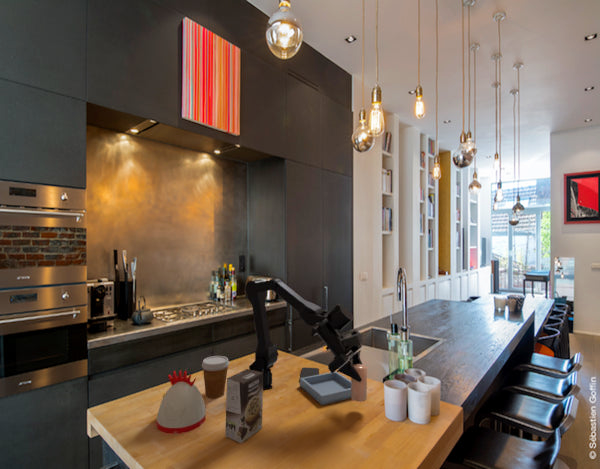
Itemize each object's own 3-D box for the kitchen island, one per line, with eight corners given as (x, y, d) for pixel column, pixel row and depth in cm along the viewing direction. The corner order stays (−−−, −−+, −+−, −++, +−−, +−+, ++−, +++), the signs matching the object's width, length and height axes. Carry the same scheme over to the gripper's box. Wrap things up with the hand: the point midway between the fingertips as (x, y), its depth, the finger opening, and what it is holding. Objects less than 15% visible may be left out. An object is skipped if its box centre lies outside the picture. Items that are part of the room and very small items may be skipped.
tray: (321, 405, 112) (322, 396, 112) (299, 386, 126) (300, 378, 126) (360, 395, 119) (360, 387, 120) (335, 378, 134) (335, 371, 134)
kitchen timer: (168, 408, 109) (169, 361, 109) (211, 410, 108) (212, 362, 108) (147, 433, 95) (149, 379, 95) (196, 435, 94) (197, 380, 94)
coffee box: (242, 444, 90) (243, 383, 91) (224, 436, 94) (225, 377, 94) (263, 428, 98) (264, 372, 98) (246, 421, 101) (247, 367, 102)
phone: (298, 382, 129) (301, 367, 144) (298, 384, 129) (301, 369, 144) (318, 383, 129) (319, 368, 143) (318, 385, 129) (319, 370, 143)
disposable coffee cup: (195, 397, 116) (195, 362, 116) (212, 386, 125) (212, 353, 125) (218, 402, 113) (218, 366, 113) (234, 391, 122) (234, 357, 122)
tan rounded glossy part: (357, 402, 106) (357, 370, 106) (347, 396, 110) (348, 365, 110) (369, 399, 108) (370, 368, 108) (360, 393, 113) (360, 363, 113)
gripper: (338, 330, 103) (373, 373, 98) (356, 318, 120) (387, 354, 115) (314, 351, 106) (347, 395, 101) (335, 337, 123) (364, 373, 118)
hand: (363, 378), depth 109 cm, fingers closed on tan rounded glossy part, 5 cm apart
